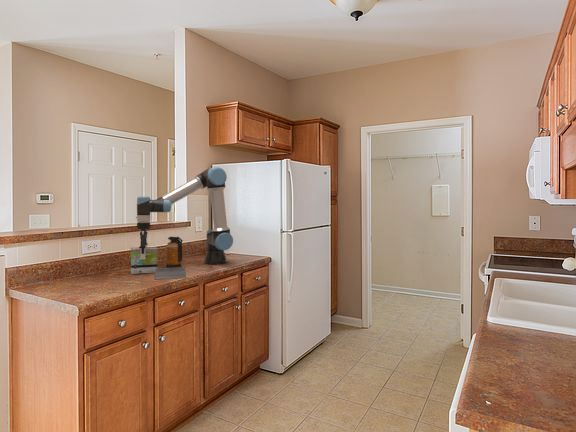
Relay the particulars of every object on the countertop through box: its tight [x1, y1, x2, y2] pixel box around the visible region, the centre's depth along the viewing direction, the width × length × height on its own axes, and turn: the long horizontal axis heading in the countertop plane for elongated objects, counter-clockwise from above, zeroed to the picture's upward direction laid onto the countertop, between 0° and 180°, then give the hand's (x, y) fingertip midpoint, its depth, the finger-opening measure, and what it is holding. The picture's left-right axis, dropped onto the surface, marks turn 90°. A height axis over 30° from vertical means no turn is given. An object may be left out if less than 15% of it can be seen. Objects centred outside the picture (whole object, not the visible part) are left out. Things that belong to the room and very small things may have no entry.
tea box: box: [130, 246, 159, 275], centre depth 237 cm, size 15×10×15 cm, turn 114°
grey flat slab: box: [154, 266, 187, 280], centre depth 226 cm, size 16×15×4 cm
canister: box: [165, 236, 184, 268], centre depth 253 cm, size 9×11×20 cm
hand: (143, 257), depth 236 cm, fingers open, 13 cm apart
